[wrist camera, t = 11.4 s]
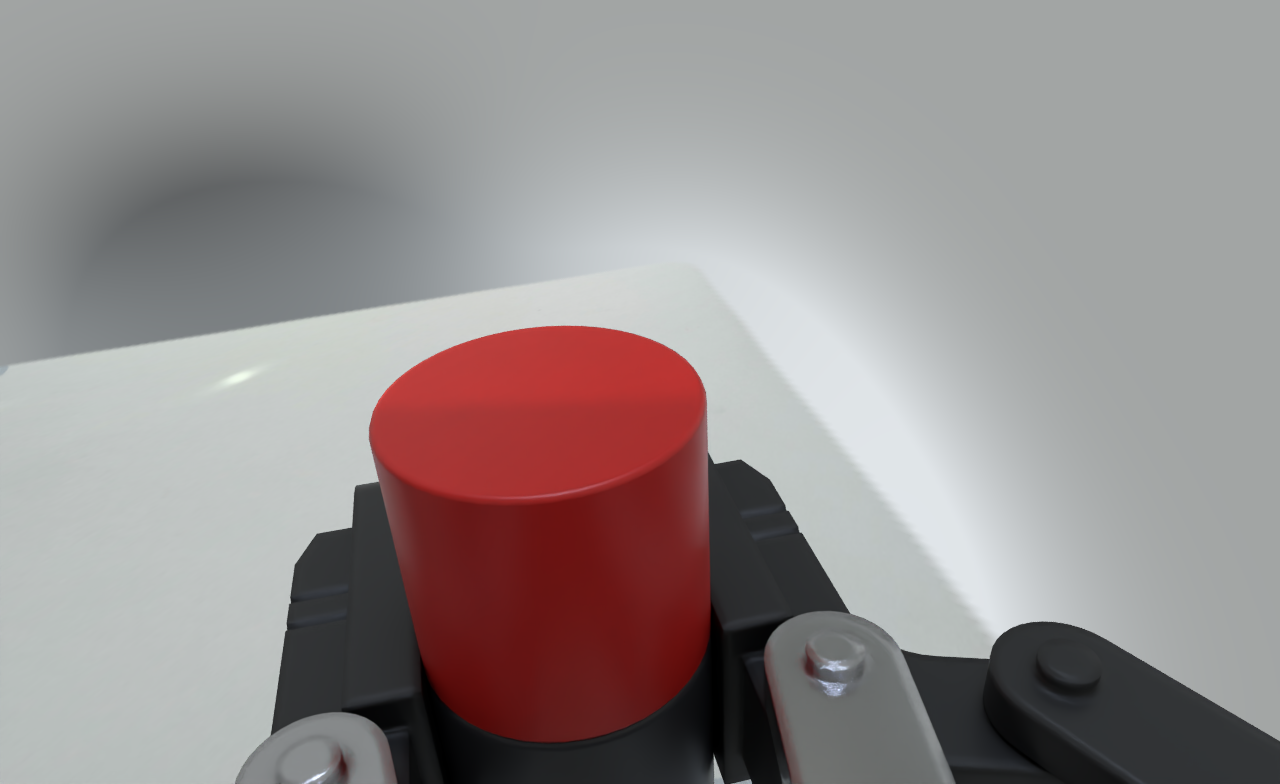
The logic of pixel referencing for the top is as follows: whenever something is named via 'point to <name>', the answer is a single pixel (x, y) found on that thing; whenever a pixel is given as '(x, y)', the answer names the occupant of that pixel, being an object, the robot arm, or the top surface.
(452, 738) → the marker
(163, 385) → the top surface
